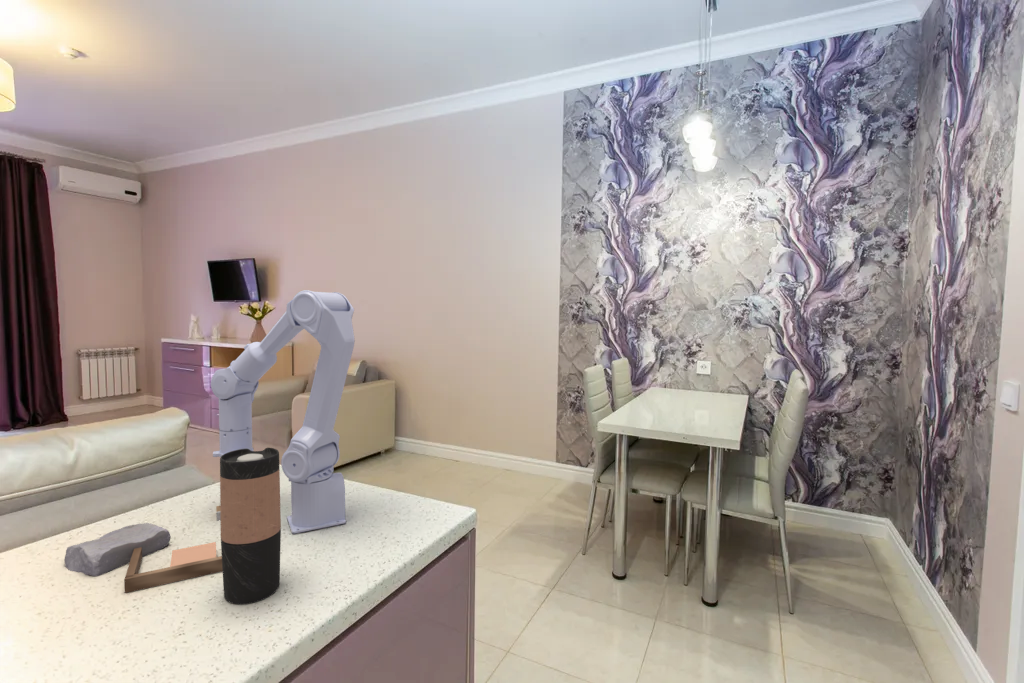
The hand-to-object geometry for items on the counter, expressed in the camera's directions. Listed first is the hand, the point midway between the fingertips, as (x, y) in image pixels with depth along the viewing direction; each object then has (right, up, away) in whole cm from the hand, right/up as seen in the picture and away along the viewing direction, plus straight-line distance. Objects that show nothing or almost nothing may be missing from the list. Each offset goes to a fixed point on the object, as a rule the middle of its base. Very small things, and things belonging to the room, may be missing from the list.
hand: (237, 495), depth 99 cm
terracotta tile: (+5, -5, -20) cm, 21 cm away
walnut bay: (+4, -5, -20) cm, 21 cm away
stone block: (-10, -5, -18) cm, 21 cm away
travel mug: (+18, -5, -28) cm, 33 cm away
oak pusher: (+1, -3, -1) cm, 4 cm away
